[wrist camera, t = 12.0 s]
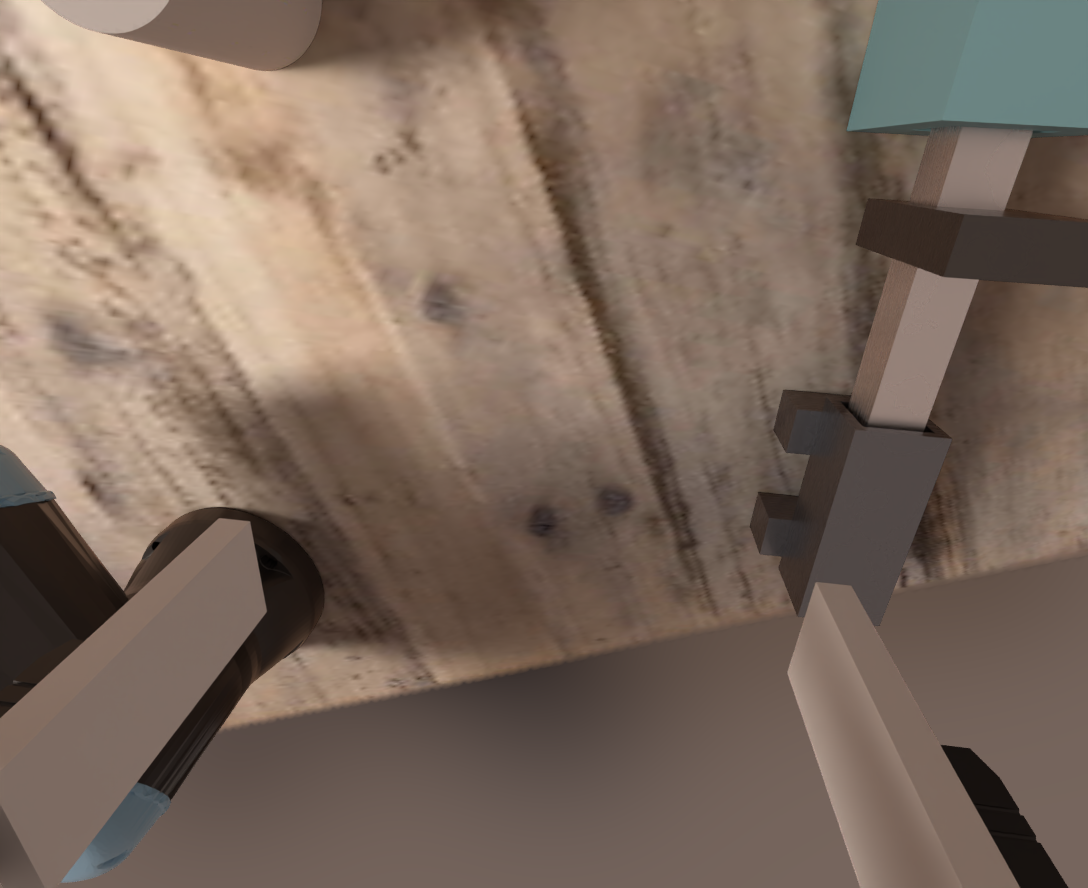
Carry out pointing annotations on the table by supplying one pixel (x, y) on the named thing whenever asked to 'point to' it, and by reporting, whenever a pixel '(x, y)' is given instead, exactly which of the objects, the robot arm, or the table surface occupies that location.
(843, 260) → the table surface
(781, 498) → the sleeve
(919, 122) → the teal rectangular block
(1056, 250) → the rod
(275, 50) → the light grey cylinder
